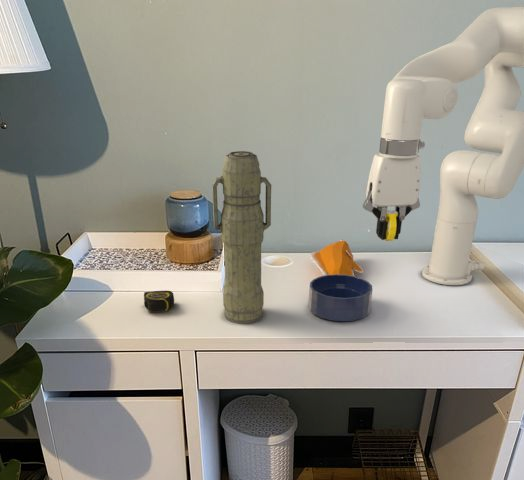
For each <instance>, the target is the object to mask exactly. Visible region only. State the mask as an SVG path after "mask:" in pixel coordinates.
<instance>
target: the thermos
mask: <svg viewBox="0 0 524 480" xmlns="http://www.w3.org/2000/svg"><path fill="white" fill-rule="evenodd" d="M221 171H222V172H221V173H222V174H221V175H220V176H219V177H216V178H215V179H214V181H213V182H212V184H211V193H212V213H213V214H212V216H213V225H214V230H216V231H219V232H220V234H221V235H220V237H221V241H222V243H223V254H224V256H223V257H224V259H223V260H224V284H223V291H222V301H223V303H222V304H223V307H224V308H223V309H224V318H225V319H226V320H227V321H229V322H231V323H234V324H242V325H243V324H244V325H245V324H252V323H256V322H258V321H260V320H261V319H262V318H263V315H264V311H263V308H264V303H265V301H264V297H265V295H264V288H263V286H262V244H263V242H264V234H265V233H264V232H265V230H267V229H268V228H270V227H271V225H272V183H271V182H270V181H269V180H268V178H267V177H265V176H262V174H261V173H262V172H261V168H260V161H259V159H258V155H257V154H255V153H254V152H252V151H246V150H243V151H242V150H240V151H239V150H237V151H231V152H229V153H227V154H226V155H225V158H224V162H223V165H222V169H221ZM262 183H263V184H264V185H265V214H264V212H263V209H262V203H261V202H262V200H261V198H260V197H261V193H262V192H261V190H262V189H261V188H262V187H261V186H262ZM219 184H221V185H222V194H223V197H224V198H223V201H222V203H223V204H222V206H223V207H222V210H221V213H220V222H219V213H218V212H219V209H218V185H219ZM264 216H265V219H264ZM264 220H265V221H264Z"/></svg>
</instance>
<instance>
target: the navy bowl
mask: <svg viewBox="0 0 524 480" xmlns="http://www.w3.org/2000/svg"><path fill="white" fill-rule="evenodd" d="M372 297H373V285H372V284H371V282H369V281H367V280H366V279H363V278H361V277H358V276H356V275H355V276H350V275H339V274H335V275H321V276H318V277H315V278H313V279H312V280H311V281H310V282H309V289H308V309H309V311H310V312H311V313H312V314H313V315H315V316H316V317H318V318H320V319H321V318H322V319H325V320H328V321H334V322H335V321H336V322H351V321H357V320H360V319H363V318H365V317H367V316H368V315H369V314H370V312H371V308H372V299H373V298H372Z"/></svg>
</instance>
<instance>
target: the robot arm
mask: <svg viewBox="0 0 524 480" xmlns="http://www.w3.org/2000/svg"><path fill="white" fill-rule="evenodd" d="M513 68H521V69H523V68H524V5H523V6H497V7H491V8H489V9H488V8H487V9H486V10H484V11H483V12H482V13H481V14H479V15H478V16H477V17H476V18H475V19H474V20H473V21H472V22H471V23H470V24H469V25H468V26H467V27H466V28H465V29H464V30H463V31H462V32H461V33H460V34H459V35H458V36H457V37H456V38H454V40H452V41H451V42H449V43H446V44H444V45H441V46H439V47H437V48H435V49H432V50H430V51H428V52H426V53H423V54H421V55H419V56H418V57H416V58H413V59H412V60H411V61H409V62H408V63H407V64H406V65H404V66H403V68H402V69H400V71H398V72H397V73H396V74H395V76H394V77H393V78H392V79H391V80H390V81H389V82H388V83H387V84H386V88H385V94H384V105H383V111H382V113H383V115H382V122H381V131H380V141H379V149H378V153H374V156H373V158H372V162H371V166H370V169H369V174H368V178H367V179H368V180H367V186H366V190H365V191H366V192H365V200H364V202H363V203H362V209H364V210H365V211H366V212H367V211H368V212H370V213H372V214H373V216H375V218H376V228H375V229H376V230H375V234H376V235H377V236H376V237H378V239H380V240H382V241H386V240H385V239H386V233H387V225H388V222H387V221H386V214H387V210H388V207H394V211H397V212H398V216H397V217H396V234H395V237H394V239H393V240H398V239H399V236H400V234H401V231H402V225H403V224H402V223H403V221H404V220H405V218H406V217H408V215H409V214H411V212H412V211H414V210H417V209H419V208H420V207H421V202H420V198H419V195H420V188H421V156H420V155H419V151H420V150H422V149H424V148H425V146H426V143H425V141H421V139H420V138H421V137H420V136H421V131H422V124H423V123H422V122H423V119H426V120H440V119H444V118H447V116H449V115H450V114H451V113H452V112H453V111H454V109H455V107H456V105H457V103H458V99H459V98H458V97H459V94H458V89H457V86H456V84H457V83H462V82H464V81H468V80H470V79H473V78H475V77H476V76H478V75H479V74H480V73H481V72H483V71H482V70H484V85H483V90H482V92H481V95H480V97H479V99H478V102H477V103H476V106H475V108H474V110H473V112H472V114H471V117H470V119H469V121H468V123H467V125H466V128H465V131H464V135H463V137H464V138H463V140H464V143H465V145H466V146H467V147H468V148H471V149H472V150H468V149H467V150H466V149H465V150H463V149H462V150H461V149H460V150H459V149H458V150H454V151H451V152H450V153H448V154H447V155H446V156H445V157H444V158H443V160H442V162H441V165H440V169H439V170H440V171H439V201H438V209H437V216H436V222H435V228H434V235H433V240H432V241H433V242H432V246H431V247H432V248H431V253H430V260H429V264H428V265H427V266H424V268H422V270H421V275H422V277H423V278H424V279H425V280H427V281H429V282H432V283H434V284H438V285H444V286H462V285H467V284H469V283H470V282H472V280H473V274H472V272H474V271H484V270H485V269H486V263H485V262H476V260H470V258H471V252H472V247H473V243H474V237H475V232H476V228H477V227H476V226H477V221H478V217H479V207H478V203H477V200H476V197H475V196H477V197H482V198H488V199H495V200H501V199H504V198H507V196H509V195H510V193H511V192H512V191H513V190H514V188H515V186H516V183H517V181H518V179H519V177H520V175H521V173H522V171H523V169H524V110H515V109H516V107H517V105H518V103H519V101H520V98H521V96H522V95H521V93H522V92H521V87H520V83H519V81H518V78H517V77H516V75H515V73H514V70H513ZM474 150H476V151H474Z"/></svg>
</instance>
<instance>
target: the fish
mask: <svg viewBox="0 0 524 480" xmlns="http://www.w3.org/2000/svg"><path fill="white" fill-rule="evenodd" d="M309 258H310V261H311V262H313V264H314V265H315V266H316V267H317V268H318V270H319V271H320V273H321V274H322V276H325V275H335V274H339V275H350V276H355V277H356V275H355V272H356V273H360V274H362V273H364V271H365V270H363V268H362V267H361V266H360V265H359V264H358V263H357V262H356V261H355V260H354V255H353V253H352V251H351V249H350V245H349V244H348V242H347V241H346V240H344V239H340V240H338V241H336V242H333V243H329V244H328V245H326V246H325V247H323V248H321V250H319V251H312V252H311V253H310V254H309Z"/></svg>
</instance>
